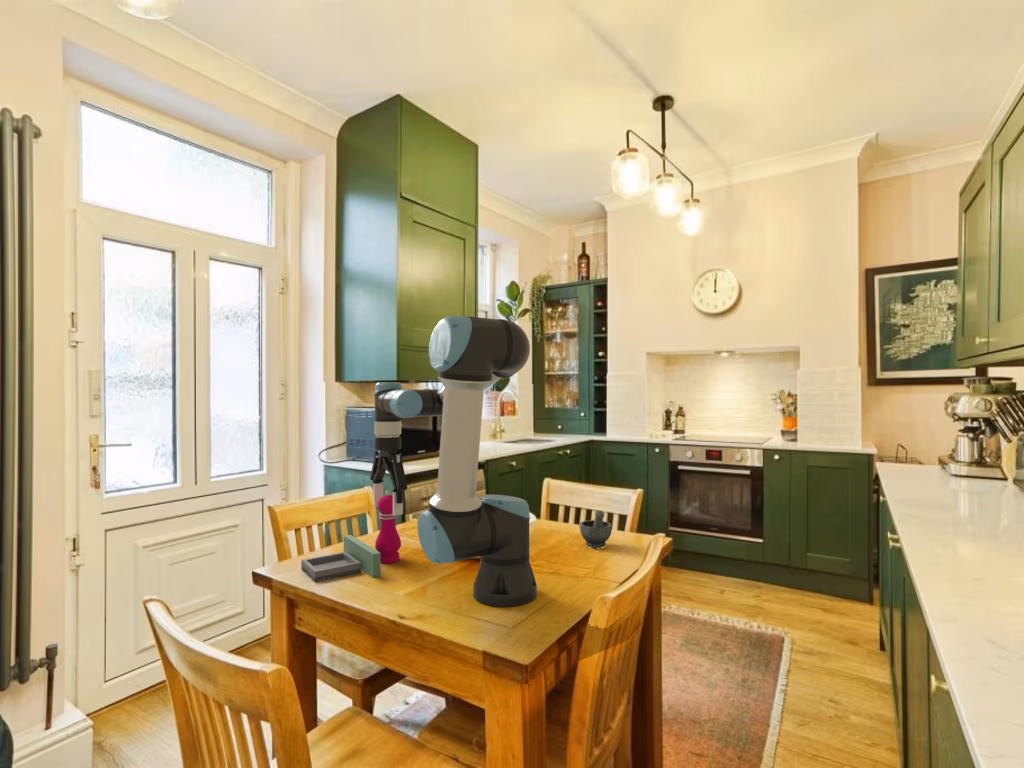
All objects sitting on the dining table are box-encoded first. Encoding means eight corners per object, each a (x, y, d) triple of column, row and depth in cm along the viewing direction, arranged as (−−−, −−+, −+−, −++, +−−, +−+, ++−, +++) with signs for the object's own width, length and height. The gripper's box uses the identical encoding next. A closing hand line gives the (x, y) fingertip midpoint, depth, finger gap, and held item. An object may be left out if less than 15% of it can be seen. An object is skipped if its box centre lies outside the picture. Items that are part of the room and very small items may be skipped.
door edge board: (380, 575, 140) (380, 552, 140) (373, 577, 139) (373, 554, 139) (350, 555, 157) (350, 534, 157) (343, 556, 156) (343, 535, 156)
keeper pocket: (360, 572, 143) (360, 562, 143) (314, 581, 136) (314, 571, 136) (345, 560, 152) (345, 551, 152) (301, 569, 145) (301, 559, 145)
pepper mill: (404, 556, 156) (404, 487, 156) (396, 564, 149) (396, 492, 149) (380, 555, 157) (380, 487, 157) (371, 563, 150) (371, 492, 150)
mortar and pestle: (577, 542, 170) (577, 504, 170) (606, 541, 171) (605, 503, 171) (585, 553, 159) (585, 512, 159) (616, 551, 160) (616, 511, 160)
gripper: (420, 438, 145) (419, 516, 145) (382, 431, 165) (382, 500, 165) (394, 440, 141) (393, 521, 141) (359, 433, 161) (358, 503, 161)
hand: (387, 510), depth 153 cm, fingers open, 13 cm apart
